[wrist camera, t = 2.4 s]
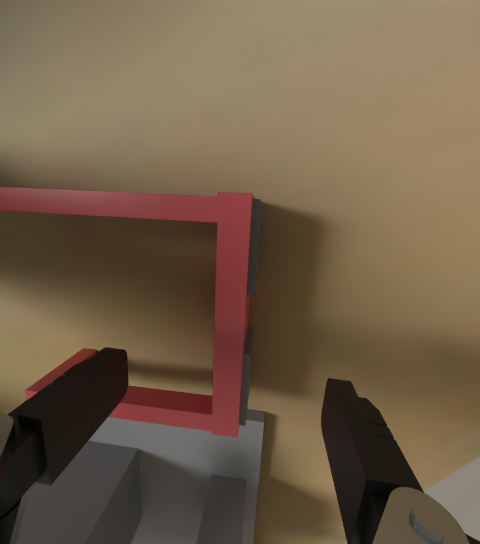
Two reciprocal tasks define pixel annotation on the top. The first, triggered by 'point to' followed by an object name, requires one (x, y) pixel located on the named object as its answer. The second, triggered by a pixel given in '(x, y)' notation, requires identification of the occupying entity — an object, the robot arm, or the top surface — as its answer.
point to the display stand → (151, 488)
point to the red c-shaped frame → (228, 298)
